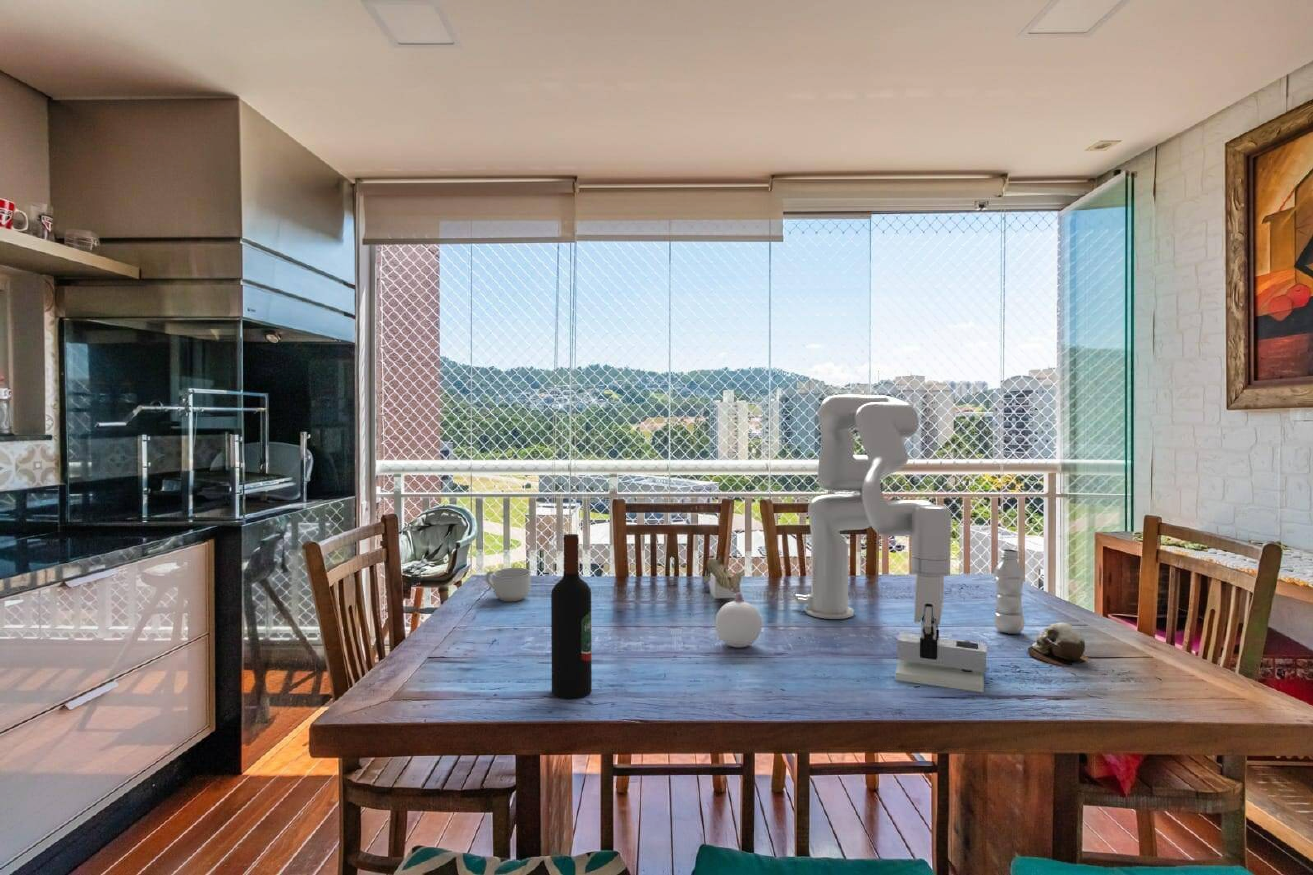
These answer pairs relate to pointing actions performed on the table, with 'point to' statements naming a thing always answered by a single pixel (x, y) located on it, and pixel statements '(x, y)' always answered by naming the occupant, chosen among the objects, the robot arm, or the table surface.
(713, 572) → the wood carving
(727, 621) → the ornament
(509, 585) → the teacup
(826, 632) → the table surface
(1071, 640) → the skull
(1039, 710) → the table surface
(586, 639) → the wine bottle
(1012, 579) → the plastic bottle
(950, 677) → the board
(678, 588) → the table surface
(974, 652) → the link plate
